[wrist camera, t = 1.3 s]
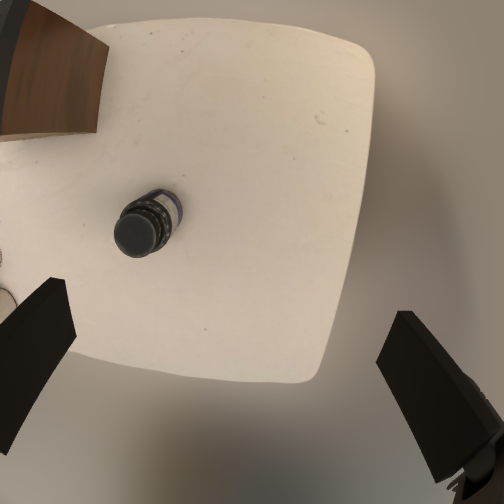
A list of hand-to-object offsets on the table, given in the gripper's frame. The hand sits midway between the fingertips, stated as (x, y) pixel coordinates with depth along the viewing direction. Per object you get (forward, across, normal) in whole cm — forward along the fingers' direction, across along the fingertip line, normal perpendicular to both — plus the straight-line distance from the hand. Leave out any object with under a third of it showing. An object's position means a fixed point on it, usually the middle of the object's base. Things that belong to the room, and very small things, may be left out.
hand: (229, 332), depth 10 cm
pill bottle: (+29, -10, -3) cm, 30 cm away
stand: (+28, -28, +14) cm, 42 cm away
